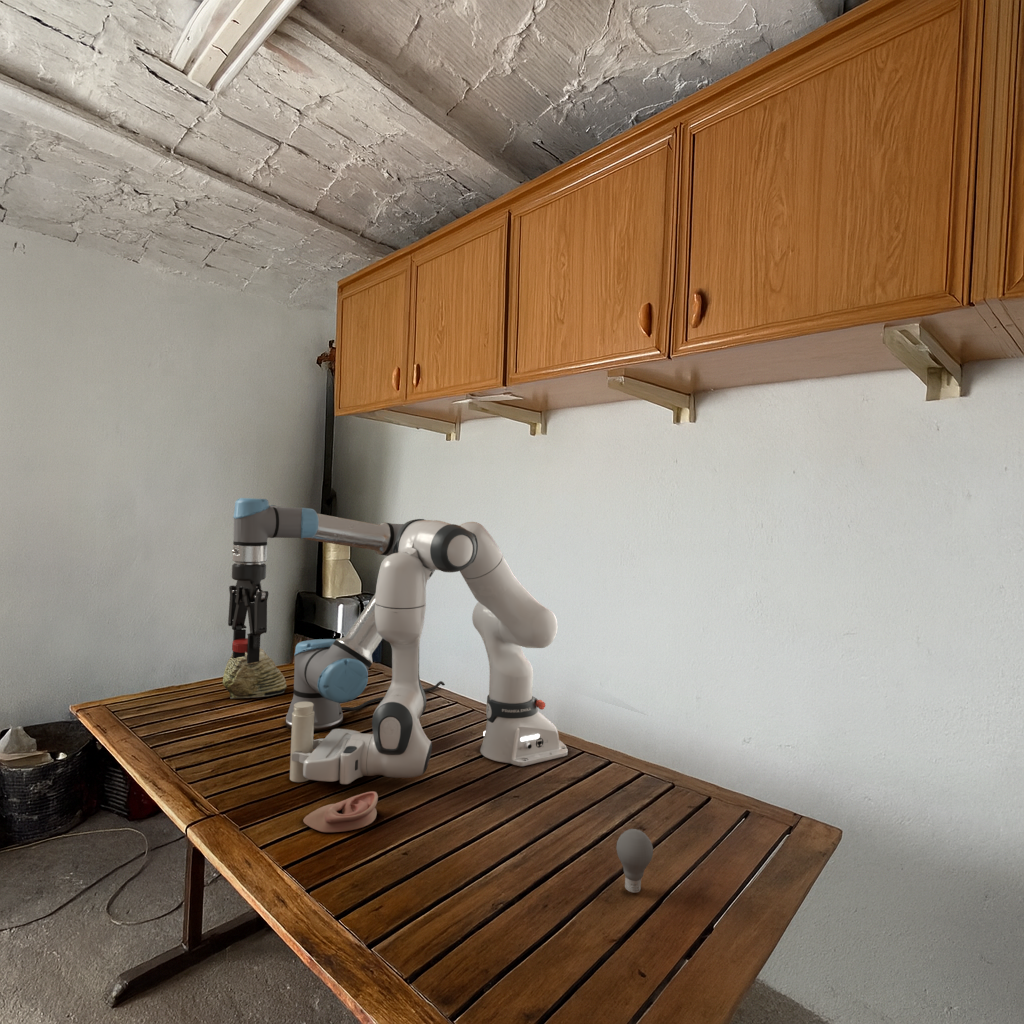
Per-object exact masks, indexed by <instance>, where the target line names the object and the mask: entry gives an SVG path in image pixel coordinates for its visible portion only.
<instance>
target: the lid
mask: <svg viewBox="0 0 1024 1024" xmlns="http://www.w3.org/2000/svg"><path fill="white" fill-rule="evenodd" d="M231 643H232V645H231V651H232V652H233V651H234V652H239V653H247V645H248V637H246V638H244V639H237V640H234V641H233V640H232V642H231Z"/></svg>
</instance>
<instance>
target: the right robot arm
mask: <svg viewBox="0 0 1024 1024" xmlns="http://www.w3.org/2000/svg"><path fill="white" fill-rule="evenodd" d="M403 524H404V525H403V526H402V527H401V528H400V530H399V531H398V533H397V536H396V539H395V544H394V546H393V554H391V555H389V556H385V557H384V558H383V560H382V561H381V563H380V566H379V570H378V574H377V579H376V586H375V593H376V594H375V593H374V595H375V622H376V628H377V632H378V634H379V635H380V636H381V637H382V640H384V641H386V642H387V643H389V645H390V646H391V682H390V684H389V687H388V689H387V690H386V693H385V694H384V696H383V697H384V698H383V700H381V701H379V704H378V705H377V707H376V708H375V710H374V712H373V714H372V719H371V728H372V733H366V732H365V733H362V732H360V731H358V730H355V729H354V730H353V729H347V728H333V729H331V730H330V732H329V733H328V734H327V735H326V736H325V738H316V739H314V740H313V752H312V753H307V754H305V753H302V751H295V752H294V753H293V754H292V761H297V762H301V763H303V776H304V777H305V778H307V779H309V780H308V781H316V782H329V783H330V782H337V781H339V784H341V785H349V784H352V782H354V781H355V780H357V779H361V778H363V777H373V776H384V777H387V778H394V779H400V778H401V779H408V778H409V779H410V778H418V777H420V776H423V774H425V773H426V771H427V769H428V767H429V762H430V760H431V756H432V751H433V742H432V741H431V739H429V738H428V736H427V735H426V733H425V731H424V729H423V727H422V724H421V721H420V719H421V718H422V716H423V715H424V713H425V711H426V708H427V696H426V692H424V687H423V685H422V682H421V677H420V643H421V638H422V634H423V630H424V624H425V619H426V618H425V617H426V611H427V609H426V608H427V607H426V606H427V589H426V588H427V584H428V581H429V580H428V577H429V575H430V574H431V572H432V571H430V570H431V569H434V570H435V571H440V572H443V573H457V572H460V574H461V576H462V579H463V580H464V581H465V583H466V585H467V587H468V589H469V591H470V592H471V594H472V595H473V597H474V599H475V600H476V601H477V603H476V604H475V606H474V607H473V611H472V616H471V619H472V624H473V627H474V628H475V630H476V631H477V633H478V634H479V635H480V637H481V639H482V642H483V644H484V645H483V646H484V648H485V652H486V655H487V660H488V670H489V672H488V673H489V675H488V676H489V679H488V680H489V681H488V682H489V683H488V694H487V697H486V705H485V714H486V724H485V730H484V731H483V739H482V742H481V746H480V748H479V752H480V754H481V755H482V756H483V757H485V758H486V759H489V760H490V761H491V760H492V761H494V762H499V763H505V764H511V765H514V766H517V767H526V766H530V765H534V764H539V763H542V762H547V761H551V760H555V759H559V758H563V757H567V756H568V754H569V753H568V751H569V750H568V747H567V745H566V744H565V743H564V742H563V741H561V739H560V735H559V730H558V727H556V725H555V724H554V723H553V721H551V720H550V719H549V718H548V717H547V716H545V715H544V714H543V713H541V712H540V711H539V710H545V708H546V702H545V701H544V700H542V699H538V698H537V697H535V696H533V686H534V685H533V682H534V668H533V666H532V663H531V661H530V660H529V659H528V658H527V657H526V654H525V653H524V651H523V648H526V649H544V648H547V647H549V646H550V645H552V643H553V642H554V640H555V638H556V637H557V633H558V629H559V627H558V619H557V616H556V615H555V613H554V611H552V610H550V609H549V608H548V607H546V606H545V605H543V604H542V603H541V602H539V601H538V600H537V599H536V598H535V597H534V596H533V595H532V594H531V593H530V591H528V589H527V588H526V587H525V586H524V585H523V584H522V583H521V582H520V581H519V579H518V578H517V577H516V576H515V574H514V573H513V570H512V569H511V567H510V565H509V564H508V561H507V560H506V558H505V556H504V553H503V552H502V550H501V549H500V547H499V545H498V544H497V542H496V541H495V539H494V538H493V536H492V535H491V534H490V533H489V531H488V530H487V529H486V527H485V526H483V525H482V524H481V523H479V522H477V521H467V522H463V523H461V524H459V525H458V524H454V523H453V524H452V523H449V522H446V521H442V520H435V519H434V520H433V519H431V520H430V519H424V518H415V519H411V520H407V521H406V522H405V523H403ZM395 552H396V553H395Z"/></svg>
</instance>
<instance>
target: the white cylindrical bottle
mask: <svg viewBox="0 0 1024 1024" xmlns="http://www.w3.org/2000/svg"><path fill="white" fill-rule="evenodd" d="M313 706H314V704H313V703H312V702H298V703H295V704H294V712H293V713H292V728H291V729H290V730H291V733H290V756H289V757H290V758H289V780H290V781H291V782H293V783H305V782H308V781H310V780H309V779H307V778H305V777H304V776H303V763H301V762H297V761H292V754H293V753H294V752H295V751H302V753H305V754H307V753H312V752H313V751H314V749H313V740H315V739H314V736H315V735H314V734H315V732H314V713H315V712H314V711H313Z"/></svg>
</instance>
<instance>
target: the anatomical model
mask: <svg viewBox="0 0 1024 1024" xmlns="http://www.w3.org/2000/svg"><path fill="white" fill-rule="evenodd" d="M378 801H379V795H378V793H377V791H366V792H363V793H360V794H359V793H358V794H356V795H353V796H351V797H349V798H346V799H344V800H341V801H339V802H336V803H330V804H326V805H323V806H321V807H318V808H317V809H315V810H313V811H311V812H310V813H309V814H307V815H306V816H305V817H304V818H303V820H302V822H303V823H304V824H305V825H306V826H308V827H309V828H311V829H312V830H315V831H318V832H321V833H340V832H348V831H353V830H354V831H355V830H358V829H361V828H364V827H366V826H369V825H371V824H372V823H374V821H375V820H376V818H377V814H378V812H377V808H376V807H377V805H378Z"/></svg>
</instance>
